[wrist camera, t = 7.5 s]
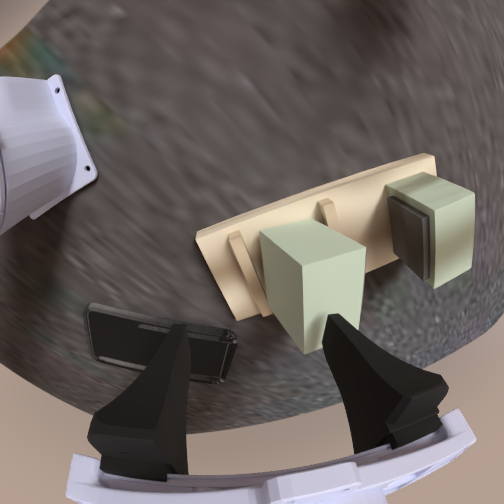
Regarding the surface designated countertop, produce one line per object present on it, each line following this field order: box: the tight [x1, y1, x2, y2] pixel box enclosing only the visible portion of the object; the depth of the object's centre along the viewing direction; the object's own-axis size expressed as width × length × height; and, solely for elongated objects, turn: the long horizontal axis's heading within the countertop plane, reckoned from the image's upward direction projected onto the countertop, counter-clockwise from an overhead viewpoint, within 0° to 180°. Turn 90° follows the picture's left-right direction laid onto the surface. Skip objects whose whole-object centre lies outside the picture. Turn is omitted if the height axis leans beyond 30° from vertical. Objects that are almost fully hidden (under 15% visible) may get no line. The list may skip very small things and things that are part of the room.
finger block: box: [259, 219, 367, 355], centre depth 18 cm, size 5×6×6 cm
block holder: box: [195, 153, 475, 321], centre depth 19 cm, size 8×20×8 cm, turn 110°
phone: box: [83, 303, 237, 384], centre depth 25 cm, size 8×1×15 cm
